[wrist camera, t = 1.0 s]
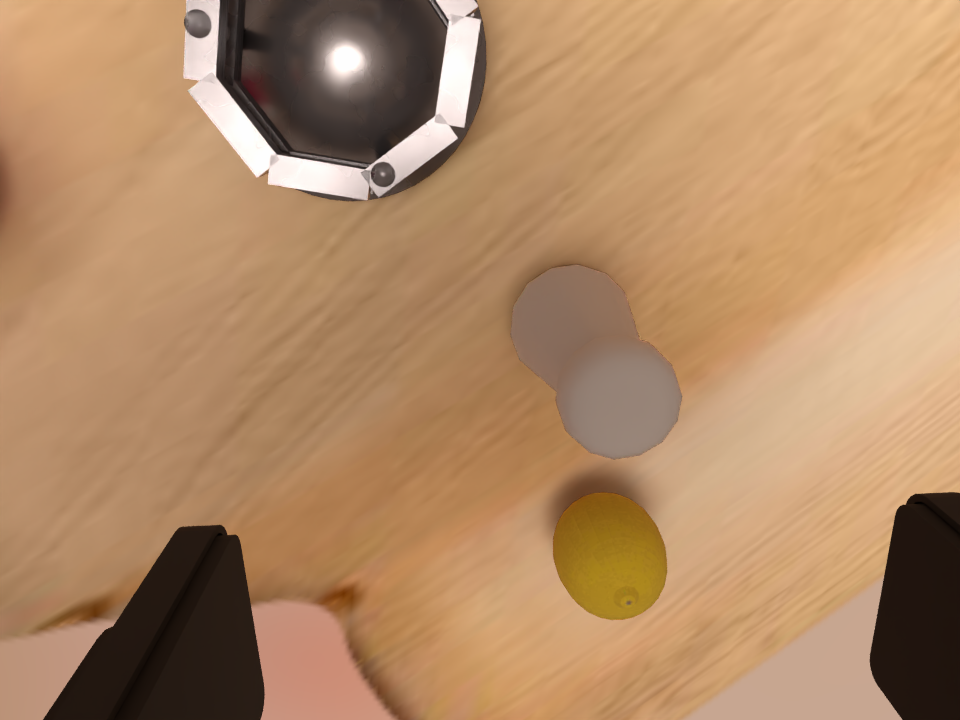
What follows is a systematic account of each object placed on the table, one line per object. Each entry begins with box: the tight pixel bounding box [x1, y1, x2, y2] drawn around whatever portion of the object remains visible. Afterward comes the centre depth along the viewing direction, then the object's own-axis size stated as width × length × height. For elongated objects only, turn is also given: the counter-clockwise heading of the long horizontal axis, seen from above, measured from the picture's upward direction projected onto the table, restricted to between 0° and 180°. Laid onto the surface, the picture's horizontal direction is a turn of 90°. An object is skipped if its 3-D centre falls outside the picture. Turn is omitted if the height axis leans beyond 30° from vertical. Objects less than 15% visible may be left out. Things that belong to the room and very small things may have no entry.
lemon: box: [553, 492, 667, 620], centre depth 37 cm, size 6×6×8 cm
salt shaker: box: [511, 264, 682, 459], centre depth 31 cm, size 6×6×13 cm
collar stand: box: [183, 0, 486, 201], centre depth 30 cm, size 12×12×5 cm
